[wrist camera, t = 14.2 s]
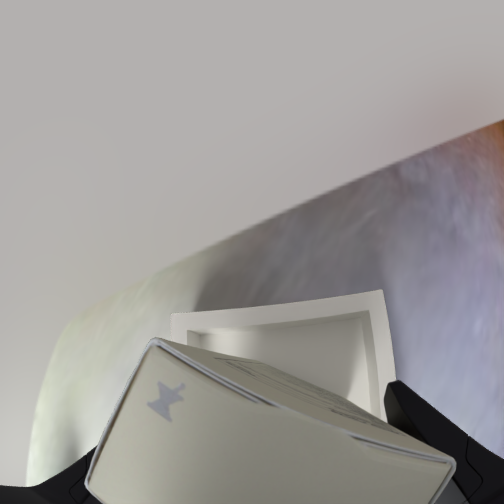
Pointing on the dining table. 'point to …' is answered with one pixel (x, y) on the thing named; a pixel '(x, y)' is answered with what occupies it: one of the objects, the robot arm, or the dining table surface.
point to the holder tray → (306, 342)
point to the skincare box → (251, 440)
